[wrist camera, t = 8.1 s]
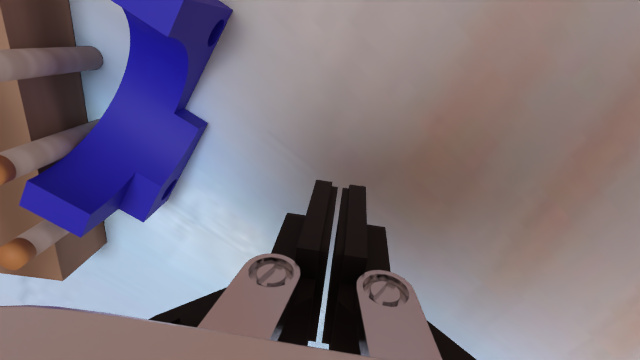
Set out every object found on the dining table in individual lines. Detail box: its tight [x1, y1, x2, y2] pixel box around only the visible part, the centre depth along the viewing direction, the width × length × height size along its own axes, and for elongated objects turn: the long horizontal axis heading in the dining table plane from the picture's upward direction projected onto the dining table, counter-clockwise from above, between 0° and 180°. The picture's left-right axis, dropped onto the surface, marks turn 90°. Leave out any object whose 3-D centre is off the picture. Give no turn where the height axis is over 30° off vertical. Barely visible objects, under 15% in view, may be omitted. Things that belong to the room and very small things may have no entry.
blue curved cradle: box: [19, 0, 233, 238], centre depth 17 cm, size 12×4×6 cm, turn 147°
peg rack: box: [0, 0, 107, 281], centre depth 17 cm, size 5×16×7 cm, turn 174°
